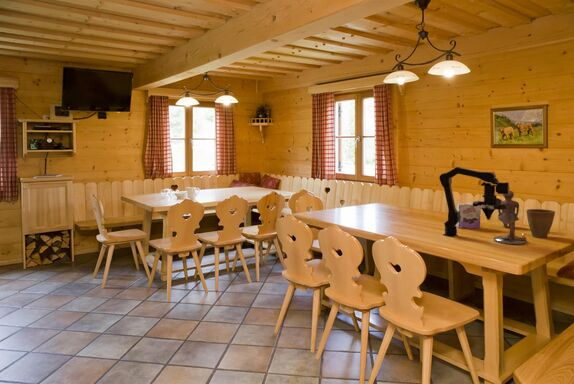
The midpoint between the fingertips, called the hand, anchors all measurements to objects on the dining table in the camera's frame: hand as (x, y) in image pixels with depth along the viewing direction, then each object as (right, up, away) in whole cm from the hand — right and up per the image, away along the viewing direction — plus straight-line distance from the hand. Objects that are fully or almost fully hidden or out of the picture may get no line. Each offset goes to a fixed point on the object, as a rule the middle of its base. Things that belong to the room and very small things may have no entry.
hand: (488, 219), depth 251 cm
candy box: (+4, -8, +37) cm, 38 cm away
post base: (+10, -12, -5) cm, 17 cm away
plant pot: (+34, -11, +6) cm, 36 cm away
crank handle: (+11, -11, -7) cm, 17 cm away
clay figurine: (+30, -8, +35) cm, 47 cm away
